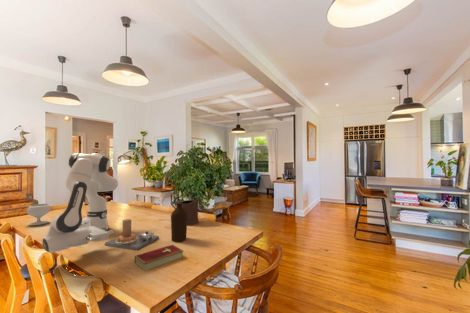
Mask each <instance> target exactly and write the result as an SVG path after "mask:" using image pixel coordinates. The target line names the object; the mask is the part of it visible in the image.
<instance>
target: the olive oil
mask: <svg viewBox="0 0 470 313" xmlns="http://www.w3.org/2000/svg"><path fill="white" fill-rule="evenodd" d="M175 208H176V209H174V210H173V211H172V212H171V215H170V227H171V230H170V231H171V234H170V236H171V241H172V243H173V242H174V243H181V242H185V241H186V240H187V231H188V230H187V229H188V226H187V212H186V211H185V210H184V209H183V208H182V200H179V201H178V200H177V201H176V206H175Z"/></svg>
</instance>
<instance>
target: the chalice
mask: <svg viewBox="0 0 470 313" xmlns="http://www.w3.org/2000/svg"><path fill="white" fill-rule="evenodd" d="M50 211H51V206H50V204H49V203H37V204H31V205H29V206H28V208H27V210H26V214H28V215H27V216H30V217H34V218H36V221H34V222H30V223H29V224H27V226H41V225H45V224H48V223H49V221H47V220H41V219H42V218H43V217H44V216H45V215H47V214H49V213H50Z"/></svg>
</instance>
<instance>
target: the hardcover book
mask: <svg viewBox="0 0 470 313" xmlns="http://www.w3.org/2000/svg"><path fill="white" fill-rule="evenodd" d="M183 252H184V250H183V249H182V248H179V247H178V246H176V245H174V244H171V245H167V246H164V247H160V248H157V249H154V250H150V251H147V252H143V253H140V254H136V255H135V256H134V263H136V264H137V265H138V266H139V267H140V268H141V269H143V271H147V270H151V269H152V268H156V267H158V266H162V265H164V264H166V263H169V262H172V261H177V260H179V259H181V258H183Z"/></svg>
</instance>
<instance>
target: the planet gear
mask: <svg viewBox="0 0 470 313" xmlns="http://www.w3.org/2000/svg"><path fill="white" fill-rule="evenodd" d="M121 232H122V233H121V234H122V235H118V236H116V238H117V242H119V241H120V242H121V243H123V242H131V241H132V240H136V234H132V233H133V232H132V219H130V218H128V219H123V220H122V231H121Z"/></svg>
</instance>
